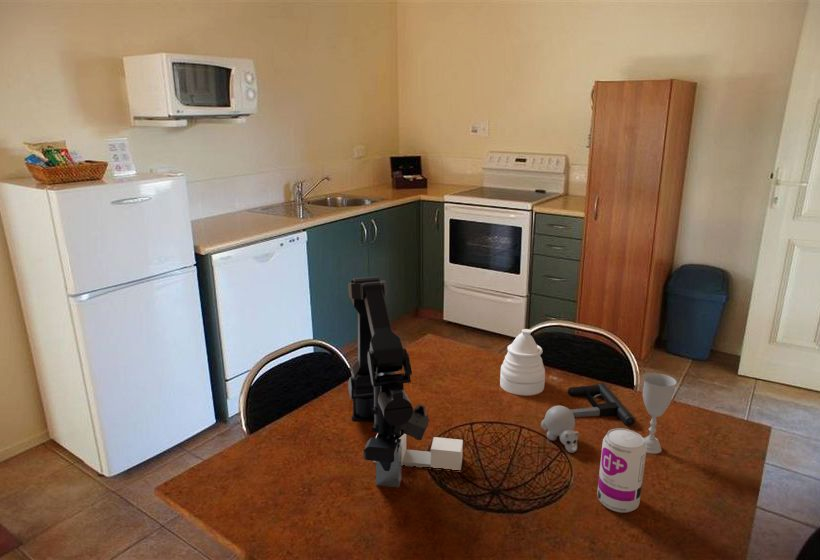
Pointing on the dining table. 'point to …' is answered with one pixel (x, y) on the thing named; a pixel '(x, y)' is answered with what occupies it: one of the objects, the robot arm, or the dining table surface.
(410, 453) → the white block dumbbell
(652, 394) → the chalice
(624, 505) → the supplement can
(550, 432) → the round bodied animal figurine
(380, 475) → the grey brushed metal block
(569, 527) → the dining table surface
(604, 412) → the toy submachine gun
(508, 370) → the honey pot
